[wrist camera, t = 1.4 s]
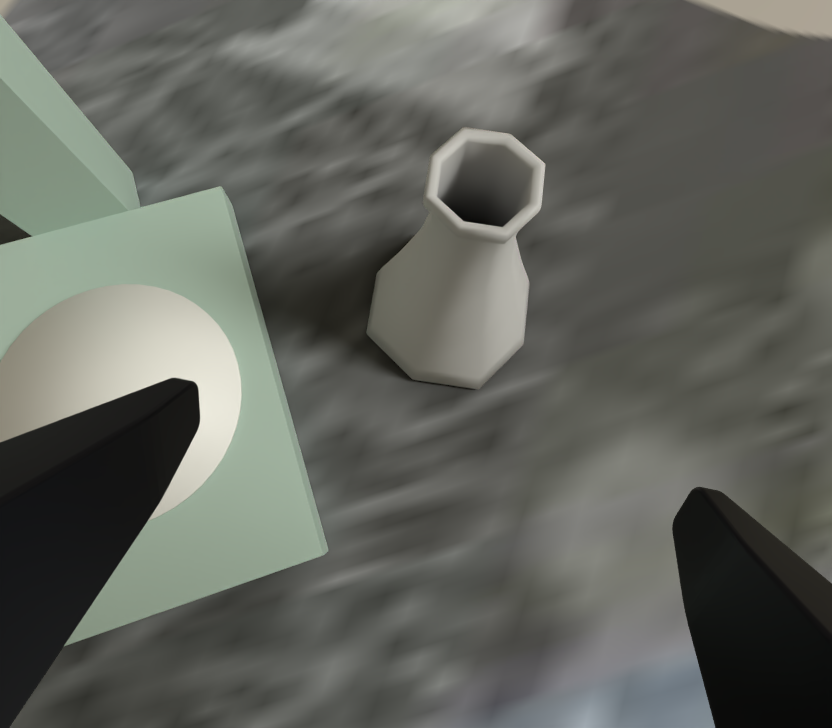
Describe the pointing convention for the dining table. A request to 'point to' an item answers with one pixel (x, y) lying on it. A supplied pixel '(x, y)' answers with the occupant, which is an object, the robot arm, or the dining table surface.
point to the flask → (462, 264)
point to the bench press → (143, 347)
